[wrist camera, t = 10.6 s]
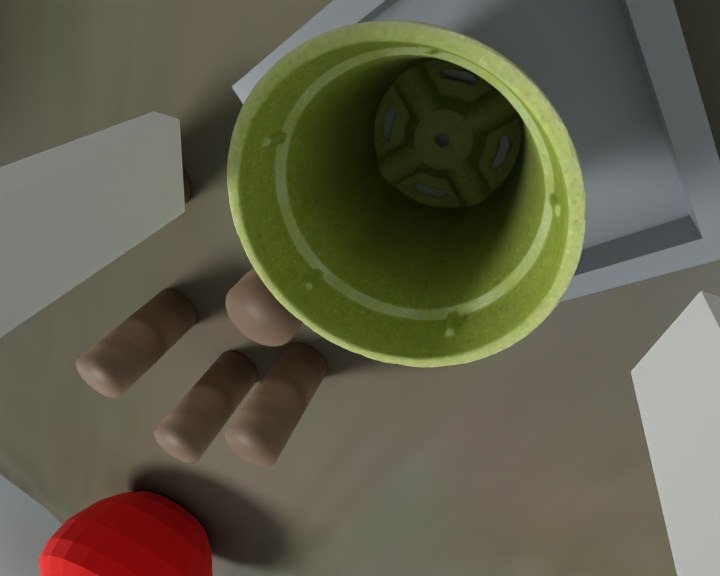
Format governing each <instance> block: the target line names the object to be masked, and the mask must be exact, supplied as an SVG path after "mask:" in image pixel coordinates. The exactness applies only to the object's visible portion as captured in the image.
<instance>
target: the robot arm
mask: <svg viewBox="0 0 720 576" xmlns="http://www.w3.org/2000/svg"><path fill="white" fill-rule="evenodd" d="M184 212H185V201H184V185H183V168H182V151H181V134H180V120H179V119H176V118H173V117H170V116H167V115H164V114H161V113H158V112H155V111H153V112H151V113H148V114H145V115H142V116H140V117H137V118H134V119H131V120H129V121H126V122H123V123H120V124H118V125H115V126H112V127H109V128H107V129H104V130H101V131H99V132H96V133H93V134H90V135H88V136H85V137H82V138H79V139H77V140H74V141H71V142H68V143H66V144H63V145H60V146H57V147H55V148H52V149H49V150H46V151H44V152H41V153H38V154H35V155H33V156H30V157H27V158H24V159H22V160H19V161H16V162H14V163H11V164H8V165H5V166H3V167H0V337H2V336H3V335H5V334H6V333H8V332H9V331H11V330H12V329H14V328H15V327H17V326H18V325H20V324H21V323H22V322H24V321H25V320H27V319H28V318H30V317H31V316H33V315H34V314H36V313H37V312H39V311H40V310H42V309H43V308H45V307H46V306H47V305H49V304H50V303H52V302H53V301H55V300H56V299H58V298H59V297H61V296H62V295H64V294H65V293H67V292H68V291H70V290H71V289H72V288H74V287H75V286H77V285H78V284H80V283H81V282H83V281H84V280H86V279H87V278H89V277H90V276H92V275H93V274H94V273H96V272H97V271H99V270H100V269H102V268H103V267H105V266H106V265H108V264H109V263H111V262H112V261H114V260H115V259H117V258H118V257H119V256H121V255H122V254H124V253H125V252H127V251H128V250H130V249H131V248H133V247H134V246H136V245H137V244H139V243H140V242H141V241H143V240H144V239H146V238H147V237H149V236H150V235H152V234H153V233H155V232H156V231H158V230H159V229H161V228H162V227H164V226H165V225H166V224H168V223H169V222H171V221H172V220H174V219H175V218H177V217H178V216H180V215H181V214H183V213H184ZM631 375H632V379H633V384H634V388H635V392H636V397H637V401H638V405H639V410H640V414H641V419H642V423H643V427H644V432H645V436H646V440H647V445H648V449H649V454H650V458H651V462H652V467H653V471H654V475H655V480H656V484H657V489H658V493H659V497H660V502H661V506H662V510H663V515H664V519H665V524H666V528H667V532H668V537H669V541H670V545H671V550H672V554H673V559H674V563H675V567H676V572H677V576H720V297H718V296H715V295H712V294H709V293H706V292H703V291H700V293H699V294H698V295H697V296H696V297H695V298H694V299H693V301H692V302H691V303H690V304H689V305H688V306H687V308H686V309H685V310H684V311H683V312H682V313H681V314H680V316H679V317H678V318H677V319H676V320H675V321H674V323H673V324H672V325H671V326H670V327H669V328H668V329H667V331H666V332H665V333H664V334H663V335H662V336H661V338H660V339H659V340H658V341H657V342H656V343H655V344H654V346H653V347H652V348H651V349H650V350H649V351H648V352H647V354H646V355H645V356H644V357H643V358H642V359H641V361H640V362H639V363H638V364H637V365H636V366H635V367H634V369H633V370H632V371H631Z"/></svg>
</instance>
